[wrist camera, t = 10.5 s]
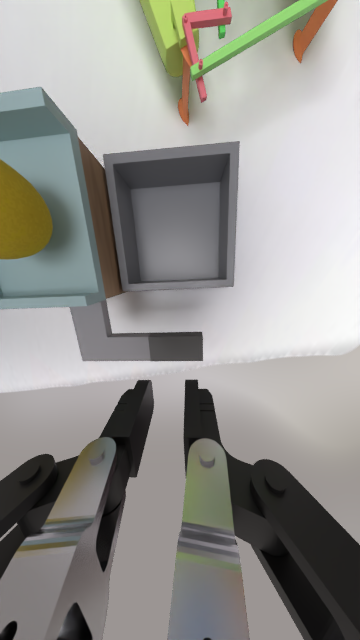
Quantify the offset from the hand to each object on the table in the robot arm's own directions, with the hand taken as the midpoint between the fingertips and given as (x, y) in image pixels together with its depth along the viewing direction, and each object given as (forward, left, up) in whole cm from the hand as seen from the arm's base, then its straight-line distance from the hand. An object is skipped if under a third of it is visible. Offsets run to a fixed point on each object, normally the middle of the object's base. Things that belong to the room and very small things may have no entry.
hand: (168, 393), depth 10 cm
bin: (0, +11, -17) cm, 21 cm away
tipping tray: (-7, +8, -7) cm, 13 cm away
